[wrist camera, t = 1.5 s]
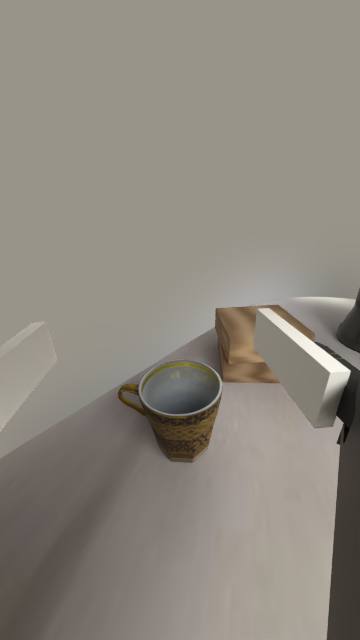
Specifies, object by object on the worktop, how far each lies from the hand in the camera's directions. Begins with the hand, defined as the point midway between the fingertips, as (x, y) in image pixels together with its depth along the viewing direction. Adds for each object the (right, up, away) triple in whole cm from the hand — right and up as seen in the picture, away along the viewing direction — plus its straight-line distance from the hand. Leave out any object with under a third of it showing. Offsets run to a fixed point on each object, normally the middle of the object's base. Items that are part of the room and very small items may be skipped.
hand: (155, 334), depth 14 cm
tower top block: (+17, -3, +30) cm, 35 cm away
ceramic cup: (+1, -16, +16) cm, 23 cm away
